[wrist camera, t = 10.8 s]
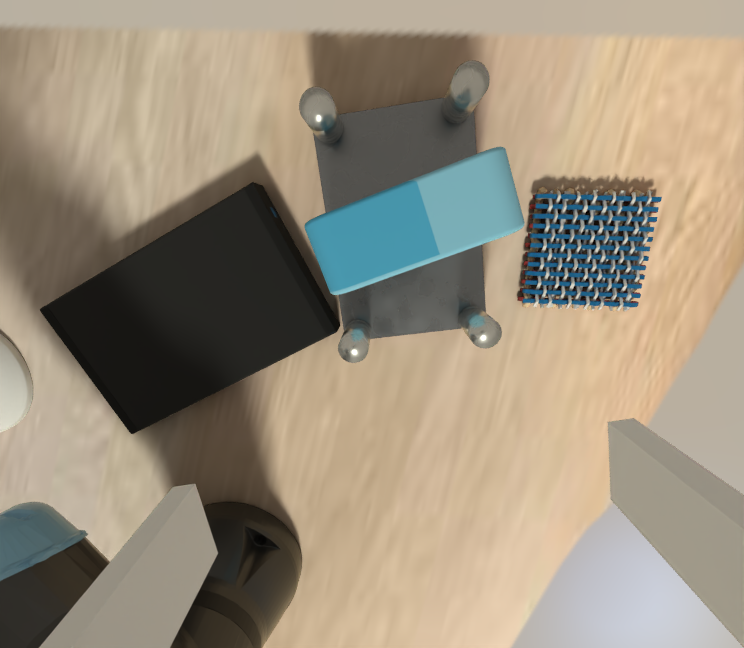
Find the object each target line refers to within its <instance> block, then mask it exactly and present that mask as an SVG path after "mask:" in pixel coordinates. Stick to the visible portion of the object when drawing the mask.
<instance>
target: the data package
mask: <svg viewBox="0 0 744 648" xmlns="http://www.w3.org/2000/svg"><path fill="white" fill-rule="evenodd" d="M523 226H524V219H523V215H522V212H521V208H520V204H519V200H518V196H517V192H516V188H515V184H514V181H513V177H512V173H511V169H510V165H509V161H508V157H507V154H506V150H505V148H503V147H496V148H492V149H489V150H486V151H484V152H481V153H478V154H476V155H473V156H471V157H468V158H465V159H463V160H460V161H458V162H455V163H453V164H450V165H448V166H445V167H442V168H440V169H437V170H435V171H432V172H430V173H427V174H424V175H422V176H419V177H417V178H414V179H412V180H409V181H406V182H404V183H401V184H399V185H396V186H394V187H391V188H389V189H386V190H383V191H381V192H378V193H376V194H373V195H371V196H368V197H365V198H363V199H360V200H358V201H355V202H353V203H350V204H348V205H345V206H342V207H340V208H337V209H335V210H332V211H330V212H327V213H324V214H322V215H320V216H317V217H315V218H313V219H311V220H309V221H308V222H307V223H306V224H305V230H306V232H307V235H308V238H309V240H310V243H311V245H312V248H313V250H314V253H315V255H316V258H317V260H318V263H319V266H320V268H321V271H322V273H323V276H324V278H325V281H326V283H327V286H328V288H329V291H330V293H331V294H333V295H339V294H343V293H347V292H350V291H353V290H356V289H359V288H361V287H364V286H367V285H370V284H373V283H375V282H378V281H381V280H384V279H387V278H389V277H392V276H395V275H398V274H401V273H403V272H406V271H409V270H412V269H415V268H417V267H420V266H423V265H426V264H429V263H431V262H434V261H437V260H440V259H442V258H445V257H448V256H451V255H454V254H456V253H459V252H462V251H465V250H468V249H470V248H473V247H476V246H479V245H482V244H484V243H487V242H490V241H493V240H496V239H498V238H501V237H504V236H507V235H509V234H512V233H514V232H516V231H518V230H520V229H521V228H523Z"/></svg>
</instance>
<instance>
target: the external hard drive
mask: <svg viewBox="0 0 744 648" xmlns="http://www.w3.org/2000/svg"><path fill="white" fill-rule="evenodd" d="M40 311H41V313H42V314H43V315H44V317H45V318H46V319H47V321H48V322H49V323H50V325H51V326H52V327H53V329H54V330H55V332H56V333H57V334H58V336H59V337H60V338H61V340H62V341H63V342H64V344H65V345H66V346H67V348H68V349H69V350H70V352H71V353H72V355H73V356H74V357H75V359H76V360H77V361H78V363H79V364H80V365H81V367H82V368H83V369H84V371H85V372H86V373H87V375H88V376H89V378H90V379H91V380H92V382H93V383H94V384H95V386H96V387H97V388H98V390H99V391H100V392H101V394H102V395H103V397H104V398H105V399H106V401H107V402H108V403H109V405H110V406H111V407H112V409H113V410H114V411H115V413H116V414H117V415H118V417H119V418H120V420H121V421H122V422H123V424H124V425H125V426H126V428H127V429H128V430H129V432H130V433H131V434H134V433H136V432H138V431H140V430H142V429H144V428H146V427H148V426H150V425H152V424H154V423H156V422H158V421H160V420H162V419H164V418H166V417H168V416H170V415H172V414H174V413H176V412H178V411H180V410H182V409H184V408H186V407H188V406H190V405H192V404H194V403H196V402H198V401H200V400H202V399H204V398H206V397H208V396H210V395H212V394H214V393H216V392H218V391H220V390H222V389H224V388H226V387H228V386H230V385H232V384H234V383H236V382H238V381H240V380H242V379H244V378H246V377H248V376H250V375H252V374H254V373H256V372H258V371H260V370H262V369H264V368H266V367H268V366H270V365H272V364H274V363H276V362H278V361H280V360H282V359H284V358H286V357H288V356H290V355H292V354H294V353H296V352H298V351H300V350H302V349H304V348H306V347H308V346H310V345H312V344H314V343H316V342H318V341H320V340H322V339H324V338H326V337H328V336H330V335H332V334H334V333H336V332H337V331H338V329H339V327H340V325H339V322H338V321H337V319H336V317H335V315H334V313H333V312H332V310H331V308H330V306H329V304H328V303H327V301H326V299H325V297H324V295H323V294H322V292H321V290H320V288H319V286H318V285H317V283H316V281H315V279H314V277H313V276H312V274H311V272H310V270H309V268H308V267H307V265H306V263H305V261H304V259H303V258H302V256H301V254H300V252H299V250H298V249H297V247H296V245H295V243H294V241H293V240H292V238H291V236H290V234H289V232H288V231H287V229H286V227H285V225H284V223H283V222H282V220H281V218H280V216H279V214H278V213H277V211H276V209H275V207H274V205H273V204H272V202H271V200H270V198H269V196H268V195H267V193H266V191H265V189H264V187H263V186H262V185H259V184H257V183H254V182H252V183H251V184H249V185H247V186H246V187H244V188H242V189H241V190H239V191H237V192H236V193H234V194H232V195H231V196H229V197H227V198H226V199H224V200H222V201H220V202H219V203H217V204H215V205H214V206H212V207H210V208H209V209H207V210H205V211H204V212H202V213H200V214H199V215H197V216H195V217H194V218H192V219H190V220H189V221H187V222H185V223H184V224H182V225H180V226H179V227H177V228H175V229H173V230H172V231H170V232H168V233H167V234H165V235H163V236H162V237H160V238H158V239H157V240H155V241H153V242H152V243H150V244H148V245H147V246H145V247H143V248H142V249H140V250H138V251H137V252H135V253H133V254H132V255H130V256H128V257H126V258H125V259H123V260H121V261H120V262H118V263H116V264H115V265H113V266H111V267H110V268H108V269H106V270H105V271H103V272H101V273H100V274H98V275H96V276H95V277H93V278H91V279H90V280H88V281H86V282H85V283H83V284H81V285H79V286H78V287H76V288H74V289H73V290H71V291H69V292H68V293H66V294H64V295H63V296H61V297H59V298H58V299H56V300H54V301H53V302H51V303H49V304H48V305H46V306H44V307H43V308H41V309H40Z"/></svg>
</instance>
